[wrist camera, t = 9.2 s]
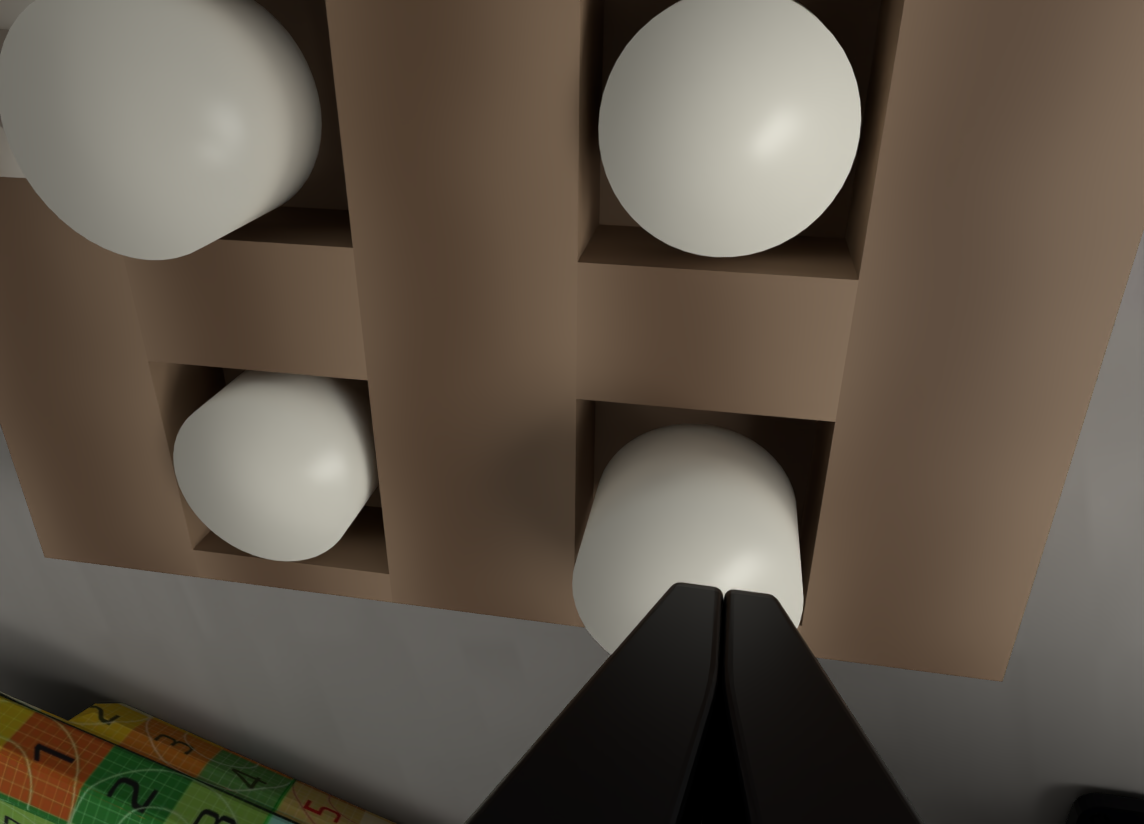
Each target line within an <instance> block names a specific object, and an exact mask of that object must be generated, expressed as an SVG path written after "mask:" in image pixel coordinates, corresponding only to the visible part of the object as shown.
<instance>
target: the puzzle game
mask: <svg viewBox="0 0 1144 824" xmlns="http://www.w3.org/2000/svg"><path fill="white" fill-rule="evenodd" d="M0 824H396V823H394V822H391V821H389V820H387V819H385V818H382V817H380V816H378V815H376V814H373V813H371V812H369V811H366V810H364V809H362V808H360V807H357V806H355V805H353V804H351V803H348V802H346V801H344V800H342V799H339V798H337V797H335V796H332V795H330V794H328V793H326V792H323V791H321V790H319V789H317V788H314V787H312V786H310V785H307V784H305V783H303V782H301V781H298V780H296V779H294V778H292V777H289V776H287V775H285V774H282V773H280V772H278V771H276V770H273V769H271V768H269V767H267V766H264V765H262V764H260V763H258V762H255V761H253V760H251V759H248V758H246V757H244V756H242V755H239V754H237V753H235V752H233V751H230V750H228V749H226V748H223V747H221V746H219V745H217V744H214V743H212V742H210V741H208V740H205V739H203V738H201V737H199V736H196V735H194V734H192V733H189V732H187V731H185V730H183V729H180V728H178V727H176V726H174V725H171V724H169V723H167V722H164V721H162V720H160V719H158V718H155V717H153V716H151V715H149V714H146V713H144V712H142V711H139V710H137V709H135V708H133V707H130V706H128V705H126V704H124V703H108V704H96V703H95V704H94V705H92V706H91V707H89V708H87V709H86V710H84V711H83V712H81V713H80V714H78V715H76V716H75V717H73V718H72V719H70V720H69V721H67V720H65V719H63V718H60V717H58V716H56V715H53V714H51V713H49V712H46V711H44V710H42V709H39V708H37V707H35V706H32V705H30V704H28V703H26V702H23V701H21V700H19V699H16V698H14V697H12V696H9V695H7V694H5V693H2V692H0Z"/></svg>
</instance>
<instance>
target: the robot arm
mask: <svg viewBox="0 0 1144 824" xmlns="http://www.w3.org/2000/svg"><path fill="white" fill-rule="evenodd" d="M1096 813H1097V814H1096ZM464 824H924V823H923V822H922V820H921V818H920V817H919V815H918V814H917V812H916V811H915V809H914V808H913V806H912V805H911V803H910V802H909V800H908V799H907V797H906V795H905V794H904V792H903V791H902V789H901V788H900V786H899V785H898V783H897V782H896V780H895V779H894V777H893V776H892V774H891V772H890V771H889V769H888V768H887V766H886V765H885V763H884V762H883V760H882V759H881V757H880V756H879V754H878V752H877V751H876V749H875V748H874V746H873V745H872V743H871V742H870V740H869V739H868V737H867V736H866V734H865V733H864V731H863V729H862V728H861V726H860V725H859V723H858V722H857V720H856V719H855V717H854V716H853V714H852V713H851V711H850V709H849V708H848V706H847V705H846V703H845V702H844V700H843V699H842V697H841V696H840V694H839V693H838V691H837V690H836V688H835V686H834V685H833V683H832V682H831V680H830V679H829V677H828V676H827V674H826V673H825V671H824V670H823V668H822V667H821V665H820V663H819V662H818V660H817V659H816V657H815V656H814V654H813V653H812V651H811V650H810V648H809V647H808V645H807V643H806V642H805V640H804V639H803V637H802V636H801V634H800V633H799V631H798V630H797V628H796V627H795V625H794V624H793V622H792V620H791V619H790V617H789V616H788V614H787V613H786V611H785V610H784V608H783V607H782V605H781V604H780V602H779V601H778V599H777V598H776V597H774V596H773V595H771V594H767V593H759V592H751V591H744V590H736V589H730V590H728V591H727V592H726V593H725V595H724V599H723V593H722V591H721V590H720V589H719V588H717V587H714V586H706V585H699V584H691V583H684V582H677V583H675V584H673V585H672V586H671V587H670V588H669V589H668V590H667V591H666V592H665V594H664V595H663V596H662V597H661V598H660V599H659V600H658V602H657V603H656V604H655V605H654V606H653V607H652V609H651V610H650V611H649V612H648V613H647V614H646V615H645V617H644V618H643V619H642V620H641V621H640V622H639V623H638V625H637V626H636V627H635V628H634V629H633V630H632V631H631V633H630V634H629V635H628V636H627V637H626V638H625V640H624V641H623V642H622V643H621V644H620V645H619V646H618V648H617V649H616V650H615V651H614V652H613V653H612V654H611V656H610V657H609V658H608V659H607V660H606V661H605V662H604V664H603V665H602V666H601V667H600V668H599V669H598V671H597V672H596V673H595V674H594V675H593V676H592V677H591V679H590V680H589V681H588V682H587V683H586V684H585V685H584V687H583V688H582V689H581V690H580V691H579V692H578V694H577V695H576V696H575V697H574V698H573V699H572V700H571V702H570V703H569V704H568V705H567V706H566V707H565V708H564V710H563V711H562V712H561V713H560V714H559V715H558V716H557V718H556V719H555V720H554V721H553V722H552V723H551V725H550V726H549V727H548V728H547V729H546V730H545V731H544V733H543V734H542V735H541V736H540V737H539V738H538V739H537V741H536V742H535V743H534V744H533V745H532V746H531V748H530V749H529V750H528V751H527V752H526V753H525V754H524V756H523V757H522V758H521V759H520V760H519V761H518V762H517V764H516V765H515V766H514V767H513V768H512V769H511V770H510V772H509V773H508V774H507V775H506V776H505V777H504V779H503V780H502V781H501V782H500V783H499V784H498V785H497V787H496V788H495V789H494V790H493V791H492V792H491V793H490V795H489V796H488V797H487V798H486V799H485V800H484V802H483V803H482V804H481V805H480V806H479V807H478V808H477V810H476V811H475V812H474V813H473V814H472V815H471V816H470V818H469V819H468V820H467V821H466V822H465V823H464ZM1066 824H1144V800H1141V799H1134V798H1127V797H1120V796H1113V795H1107V794H1099V793H1091V794H1086V795H1083V796H1081V797H1079V798H1078V799H1077V800H1076V801H1075V802H1074V804H1073V806H1072V808H1071V811H1070V814H1069V816H1068V819H1067V821H1066Z"/></svg>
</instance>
